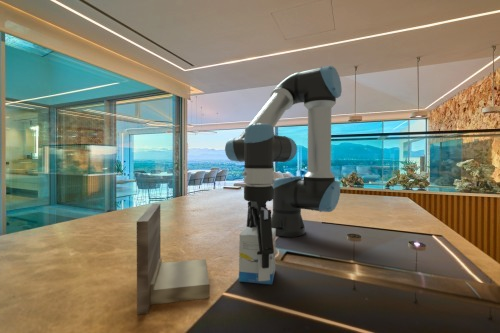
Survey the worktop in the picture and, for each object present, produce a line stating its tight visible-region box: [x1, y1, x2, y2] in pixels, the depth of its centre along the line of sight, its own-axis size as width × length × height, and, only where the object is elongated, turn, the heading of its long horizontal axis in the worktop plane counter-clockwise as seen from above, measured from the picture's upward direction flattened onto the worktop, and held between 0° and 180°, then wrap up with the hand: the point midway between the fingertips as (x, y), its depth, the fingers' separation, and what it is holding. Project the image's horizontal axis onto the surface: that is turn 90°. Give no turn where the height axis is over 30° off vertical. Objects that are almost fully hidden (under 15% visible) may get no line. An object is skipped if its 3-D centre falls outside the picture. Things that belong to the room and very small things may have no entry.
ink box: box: [238, 226, 277, 285], centre depth 65 cm, size 9×8×12 cm
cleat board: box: [136, 203, 211, 316], centre depth 59 cm, size 14×20×18 cm
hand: (257, 269), depth 65 cm, fingers closed on ink box, 11 cm apart
